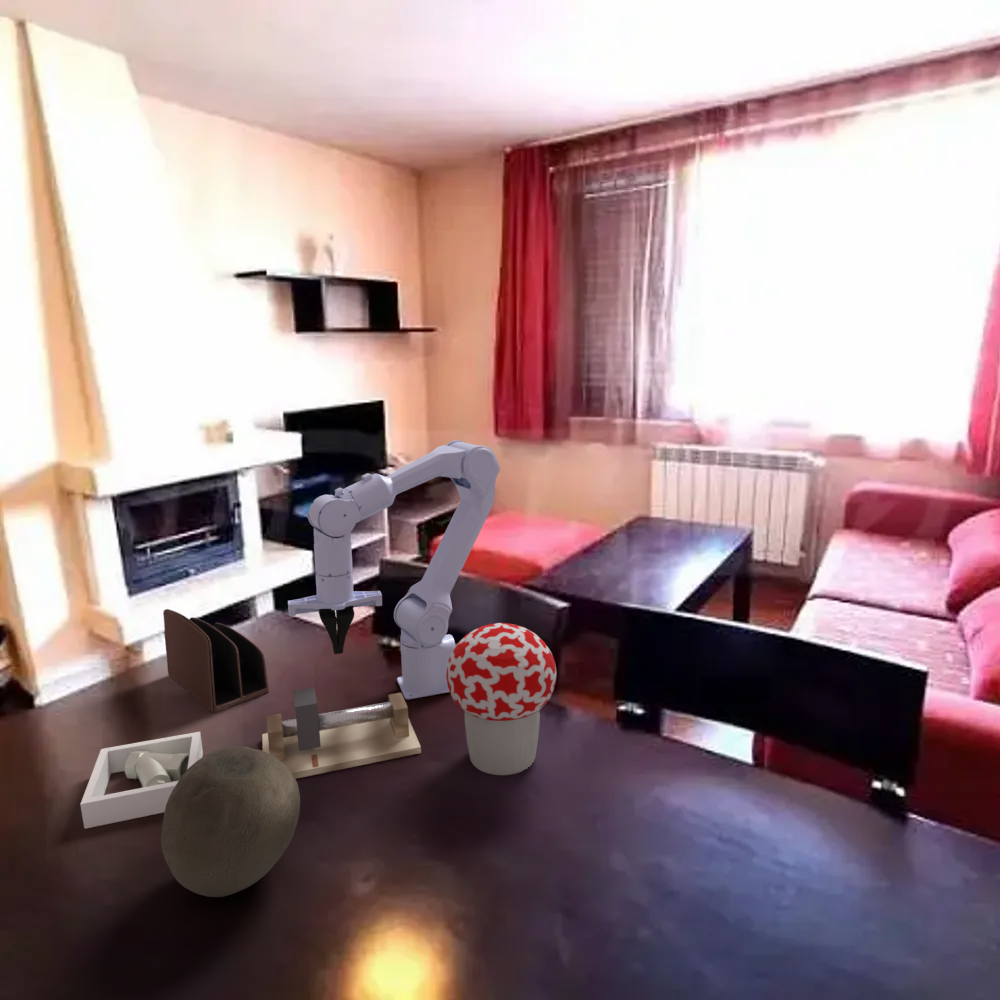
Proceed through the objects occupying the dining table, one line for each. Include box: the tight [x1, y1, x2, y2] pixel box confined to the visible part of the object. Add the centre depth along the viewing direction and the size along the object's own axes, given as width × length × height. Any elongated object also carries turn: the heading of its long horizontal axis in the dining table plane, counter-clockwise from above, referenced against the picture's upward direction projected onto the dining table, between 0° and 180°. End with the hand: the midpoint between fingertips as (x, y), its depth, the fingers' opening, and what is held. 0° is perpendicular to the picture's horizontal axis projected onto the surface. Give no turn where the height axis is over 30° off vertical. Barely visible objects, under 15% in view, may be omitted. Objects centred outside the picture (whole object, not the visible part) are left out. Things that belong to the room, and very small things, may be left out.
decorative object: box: [446, 622, 557, 776], centre depth 100 cm, size 16×16×20 cm
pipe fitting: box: [124, 751, 190, 788], centre depth 96 cm, size 8×4×7 cm
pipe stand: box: [261, 692, 422, 780], centre depth 104 cm, size 22×12×6 cm, turn 109°
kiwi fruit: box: [160, 745, 301, 898], centre depth 78 cm, size 14×14×15 cm
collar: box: [293, 686, 321, 751], centre depth 102 cm, size 3×5×7 cm, turn 19°
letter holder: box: [162, 608, 270, 714], centre depth 124 cm, size 10×20×14 cm, turn 45°
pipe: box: [282, 701, 393, 738], centre depth 104 cm, size 20×3×3 cm, turn 109°
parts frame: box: [79, 731, 204, 830], centre depth 95 cm, size 13×13×4 cm
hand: (338, 651), depth 113 cm, fingers closed
